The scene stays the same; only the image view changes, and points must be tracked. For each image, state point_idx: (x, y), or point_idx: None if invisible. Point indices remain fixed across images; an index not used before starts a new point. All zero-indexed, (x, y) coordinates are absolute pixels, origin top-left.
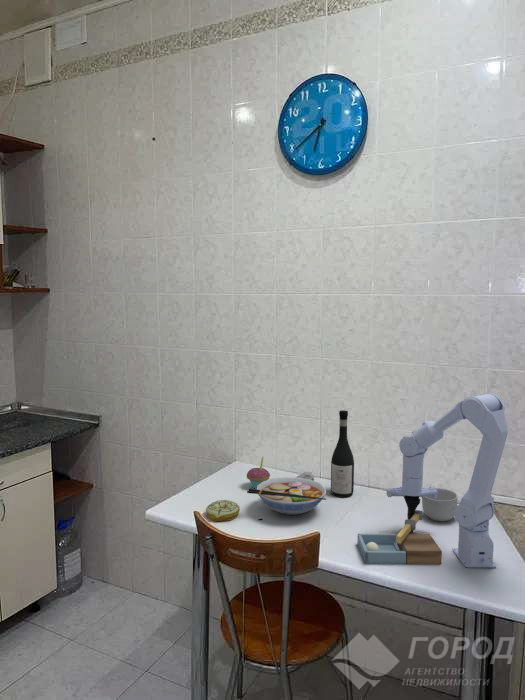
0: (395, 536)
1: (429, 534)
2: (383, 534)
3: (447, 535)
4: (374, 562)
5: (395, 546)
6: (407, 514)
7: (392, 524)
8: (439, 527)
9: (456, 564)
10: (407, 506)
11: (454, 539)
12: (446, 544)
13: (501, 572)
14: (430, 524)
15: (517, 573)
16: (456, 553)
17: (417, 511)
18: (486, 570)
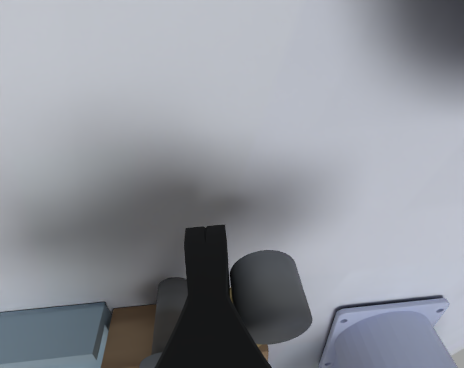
0: (95, 353)
1: (265, 356)
2: (28, 365)
3: (404, 207)
4: None
5: (104, 347)
6: (184, 248)
7: (75, 92)
8: (432, 114)
9: (301, 356)
10: (179, 326)
11: (409, 238)
12: (341, 276)
13: None
14: (399, 67)
15: None
16: (333, 335)
17: (270, 321)
18: None
